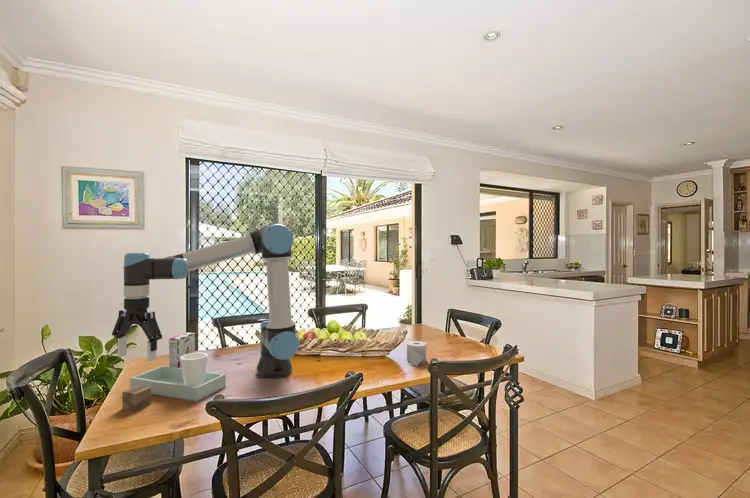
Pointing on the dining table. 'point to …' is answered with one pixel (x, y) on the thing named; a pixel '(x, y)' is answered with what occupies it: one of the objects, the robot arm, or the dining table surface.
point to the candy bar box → (180, 348)
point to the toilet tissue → (416, 352)
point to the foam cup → (194, 368)
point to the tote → (178, 383)
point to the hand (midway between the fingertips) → (136, 358)
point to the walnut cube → (136, 398)
